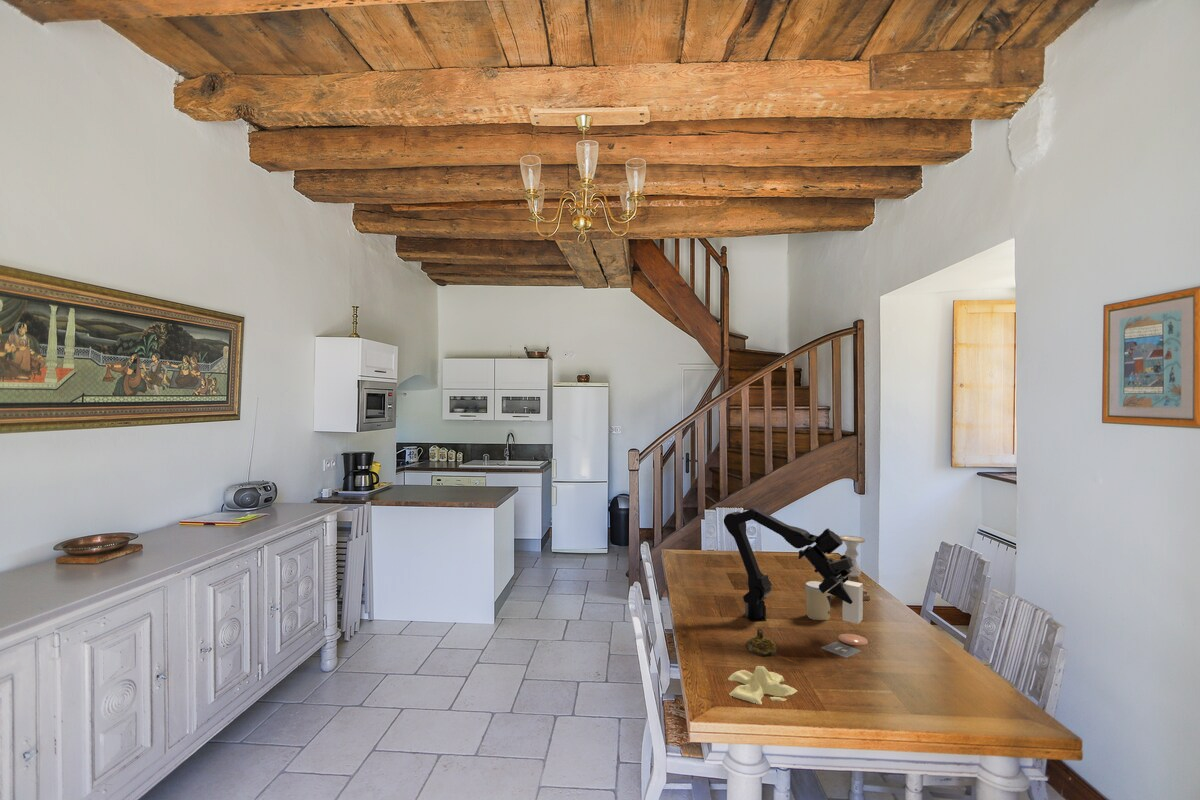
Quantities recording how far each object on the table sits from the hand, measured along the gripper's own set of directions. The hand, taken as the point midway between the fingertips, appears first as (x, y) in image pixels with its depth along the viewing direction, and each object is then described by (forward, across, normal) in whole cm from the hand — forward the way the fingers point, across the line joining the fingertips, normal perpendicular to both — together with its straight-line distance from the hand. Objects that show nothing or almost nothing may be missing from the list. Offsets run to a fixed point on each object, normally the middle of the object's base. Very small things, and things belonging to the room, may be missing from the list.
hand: (853, 601), depth 191 cm
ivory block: (+4, 0, +5) cm, 6 cm away
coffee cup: (-2, +16, +21) cm, 27 cm away
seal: (-5, -24, +25) cm, 35 cm away
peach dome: (+9, +1, +10) cm, 13 cm away
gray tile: (+9, -10, +10) cm, 17 cm away
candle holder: (0, +50, +20) cm, 54 cm away
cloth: (+3, -49, +17) cm, 52 cm away
